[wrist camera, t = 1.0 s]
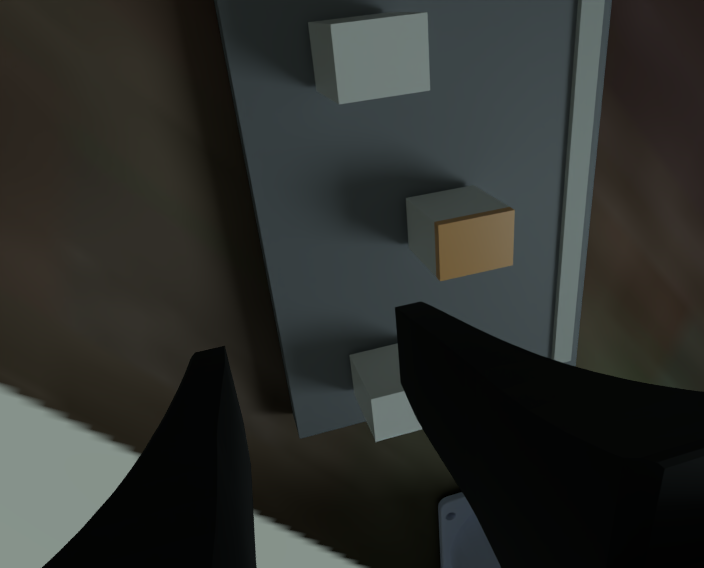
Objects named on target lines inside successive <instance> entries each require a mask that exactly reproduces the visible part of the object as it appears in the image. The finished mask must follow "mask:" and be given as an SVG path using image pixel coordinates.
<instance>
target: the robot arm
mask: <svg viewBox="0 0 704 568" xmlns="http://www.w3.org/2000/svg"><path fill="white" fill-rule="evenodd" d="M395 316H396V329H397V343H398V356H399V369H400V382H401V385H402V387H403V389H404V392H405V394H406V396H407V399H408V401H409V403H410V406H411V408H412V410H413V412H414V414H415V416H416V419H417V420H418V422H419V424H420V425H421V427H422V429H423V430H424V432H425V434H426V435H427V437H428V438H429V440H430V442H431V443H432V445H433V447H434V448H435V450H436V451H437V453H438V454H439V456H440V458H441V459H442V461H443V462H444V464H445V466H446V467H447V469H448V470H449V472H450V474H451V475H452V477H453V478H454V480H455V482H456V483H457V485H458V486H459V488H460V490H461V491H462V492H460V493H457V494H453V495H450V496H447V497H445V498H443V499H442V500H441V501H440V502H439V504H438V517H439V540H440V562H441V568H704V392H700V391H692V390H685V389H678V388H672V387H665V386H659V385H653V384H647V383H642V382H637V381H632V380H627V379H622V378H618V377H614V376H610V375H605V374H601V373H597V372H593V371H589V370H586V369H582V368H578V367H575V366H572V365H569V364H565V363H562V362H559V361H556V360H553V359H550V358H547V357H544V356H541V355H538V354H535V353H533V352H530V351H528V350H525V349H523V348H520V347H518V346H515V345H513V344H510V343H508V342H506V341H503V340H501V339H499V338H497V337H494V336H492V335H490V334H488V333H486V332H484V331H481V330H479V329H477V328H475V327H473V326H471V325H469V324H467V323H465V322H463V321H461V320H459V319H457V318H455V317H453V316H451V315H449V314H447V313H445V312H443V311H441V310H439V309H437V308H435V307H433V306H431V305H429V304H426V303H424V302H421V301H420V302H416V303H411V304H407V305H403V306H398V307H395ZM254 536H255V535H254V516H253V497H252V478H251V463H250V457H249V451H248V446H247V440H246V434H245V428H244V423H243V419H242V414H241V410H240V406H239V402H238V398H237V394H236V390H235V386H234V382H233V378H232V374H231V370H230V366H229V362H228V357H227V353H226V349H225V346H222V347H218V348H213V349H209V350H205V351H200V352H196V353H194V355H193V356H192V357H191V359H190V362H189V364H188V367H187V370H186V372H185V374H184V377H183V379H182V381H181V384H180V386H179V388H178V390H177V392H176V394H175V396H174V398H173V400H172V402H171V404H170V406H169V408H168V410H167V412H166V414H165V416H164V418H163V419H162V421H161V423H160V425H159V426H158V428H157V430H156V431H155V433H154V435H153V436H152V438H151V440H150V441H149V443H148V445H147V446H146V448H145V449H144V451H143V453H142V454H141V456H140V457H139V458H138V460H137V461H136V463H135V464H134V466H133V467H132V469H131V470H130V471H129V473H128V474H127V476H126V477H125V478H124V479H123V481H122V482H121V483H120V485H119V486H118V487H117V489H116V490H115V491H114V493H113V494H112V495H111V496H110V497H109V499H108V500H107V501H106V502H105V503H104V504H103V505H102V506H101V507H100V509H99V510H98V511H97V512H96V513H95V514H94V515H93V516H92V518H91V519H90V520H89V521H88V522H87V523H86V524H85V526H84V527H83V528H82V529H81V530H80V531H79V532H78V533H77V534H76V535H75V536H74V537H73V538H72V539H71V540H70V541H69V542H68V543H67V544H66V545H65V546H64V547H63V548H62V549H61V550H60V551H59V552H58V553H57V554H56V555H55V556H54V557H53V558H52V559H51V560H50V561H49V562H47V563H46V564H45V565H44V566H43V567H42V568H256V557H255V556H256V554H255V537H254Z"/></svg>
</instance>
